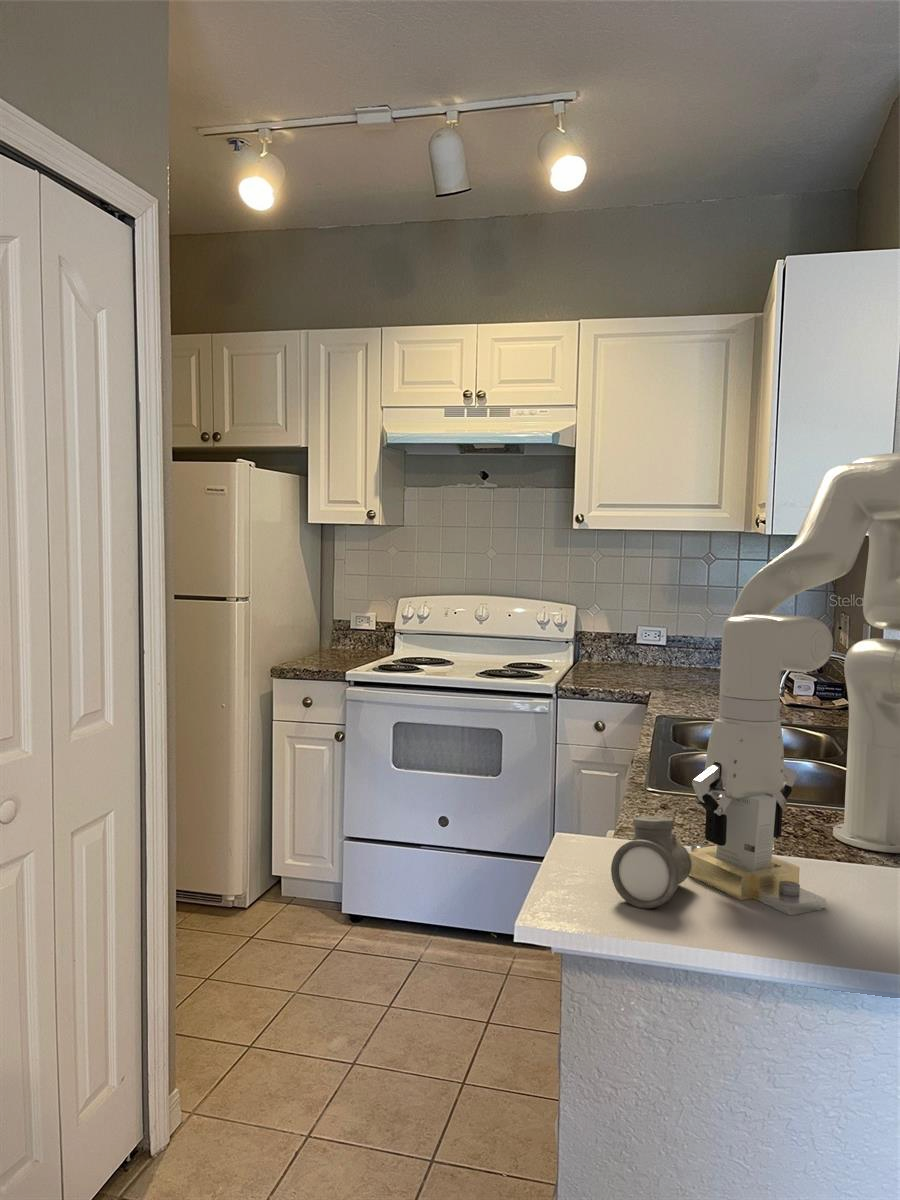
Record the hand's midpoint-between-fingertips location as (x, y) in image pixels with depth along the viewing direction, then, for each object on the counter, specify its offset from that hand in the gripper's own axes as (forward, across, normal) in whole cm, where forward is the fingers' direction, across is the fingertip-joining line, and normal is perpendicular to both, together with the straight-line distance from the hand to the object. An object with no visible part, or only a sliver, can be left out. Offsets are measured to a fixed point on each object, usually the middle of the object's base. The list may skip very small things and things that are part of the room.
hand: (743, 838), depth 117 cm
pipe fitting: (+6, +14, -1) cm, 15 cm away
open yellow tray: (+6, 0, 0) cm, 6 cm away
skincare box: (+6, 0, 0) cm, 6 cm away
